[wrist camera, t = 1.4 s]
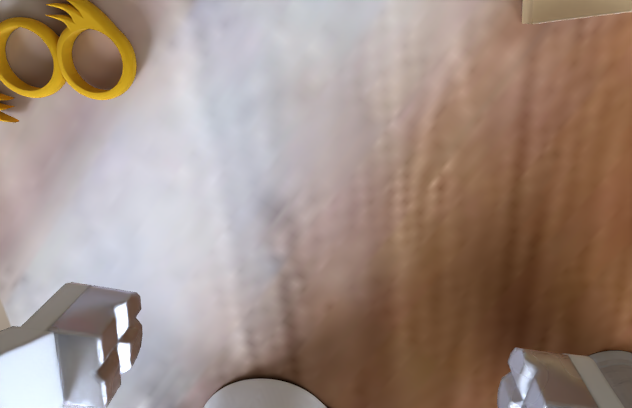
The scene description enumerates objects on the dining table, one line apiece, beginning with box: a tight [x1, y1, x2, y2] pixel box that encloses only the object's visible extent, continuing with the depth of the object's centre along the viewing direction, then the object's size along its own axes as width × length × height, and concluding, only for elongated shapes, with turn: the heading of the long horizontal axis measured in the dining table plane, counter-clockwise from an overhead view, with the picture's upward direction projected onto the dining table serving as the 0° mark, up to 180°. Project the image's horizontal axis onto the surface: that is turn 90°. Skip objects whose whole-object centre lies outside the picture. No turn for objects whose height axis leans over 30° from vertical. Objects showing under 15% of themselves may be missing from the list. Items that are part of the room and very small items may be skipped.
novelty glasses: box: [0, 0, 137, 122], centre depth 37 cm, size 17×2×10 cm
